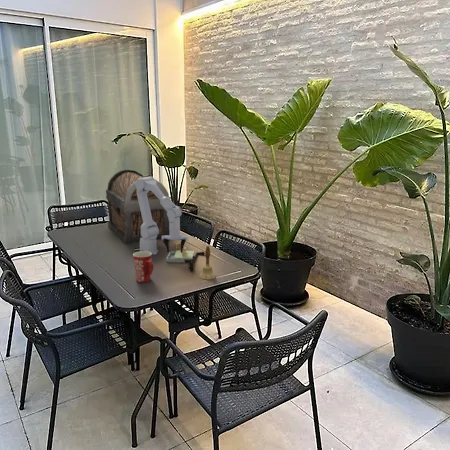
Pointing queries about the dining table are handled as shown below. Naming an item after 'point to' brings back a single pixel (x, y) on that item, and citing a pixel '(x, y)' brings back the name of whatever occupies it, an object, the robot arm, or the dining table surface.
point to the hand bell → (207, 267)
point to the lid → (184, 254)
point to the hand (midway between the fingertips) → (174, 252)
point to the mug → (143, 266)
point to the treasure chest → (133, 207)
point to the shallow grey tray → (171, 258)
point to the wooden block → (178, 246)
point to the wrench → (194, 260)
